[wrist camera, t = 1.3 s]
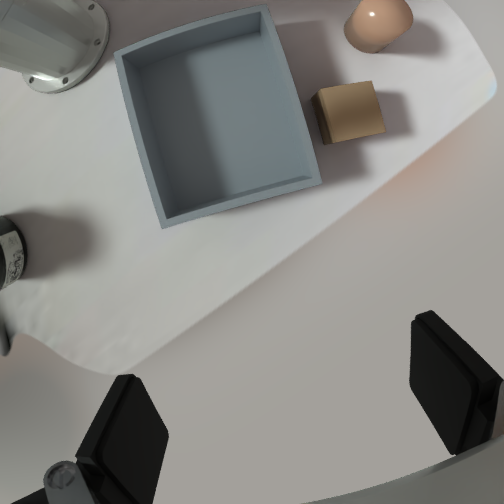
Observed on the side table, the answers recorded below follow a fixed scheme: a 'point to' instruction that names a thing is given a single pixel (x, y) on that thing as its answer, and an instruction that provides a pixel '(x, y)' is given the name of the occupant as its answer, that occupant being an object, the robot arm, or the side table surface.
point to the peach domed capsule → (377, 24)
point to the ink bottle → (11, 253)
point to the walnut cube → (347, 112)
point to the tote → (216, 115)
